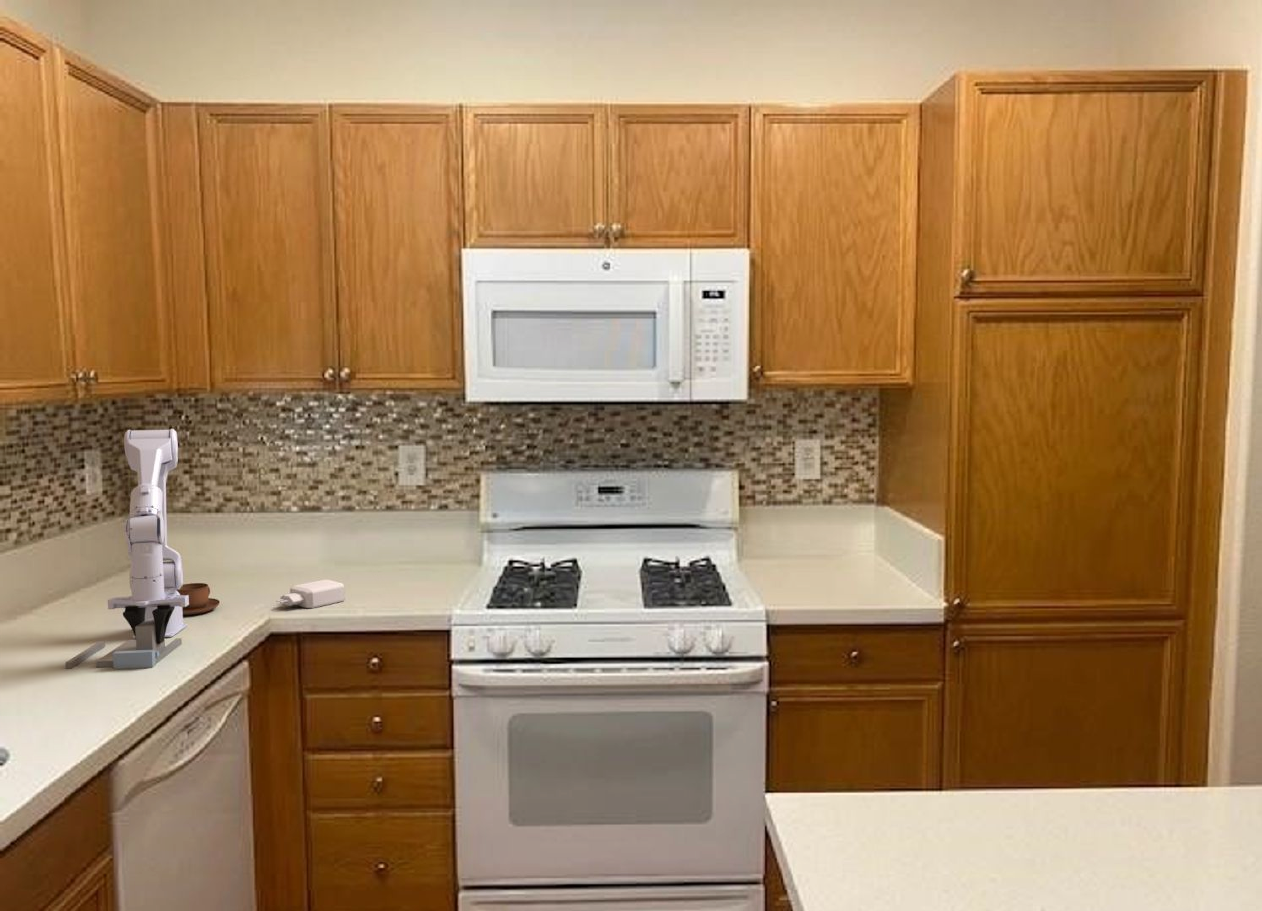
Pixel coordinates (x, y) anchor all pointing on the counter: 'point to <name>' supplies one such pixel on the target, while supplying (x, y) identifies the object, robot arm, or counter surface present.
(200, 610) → the cup and saucer
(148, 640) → the tall taupe box
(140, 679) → the counter surface
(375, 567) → the counter surface
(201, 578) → the counter surface
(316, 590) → the charger
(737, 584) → the counter surface
